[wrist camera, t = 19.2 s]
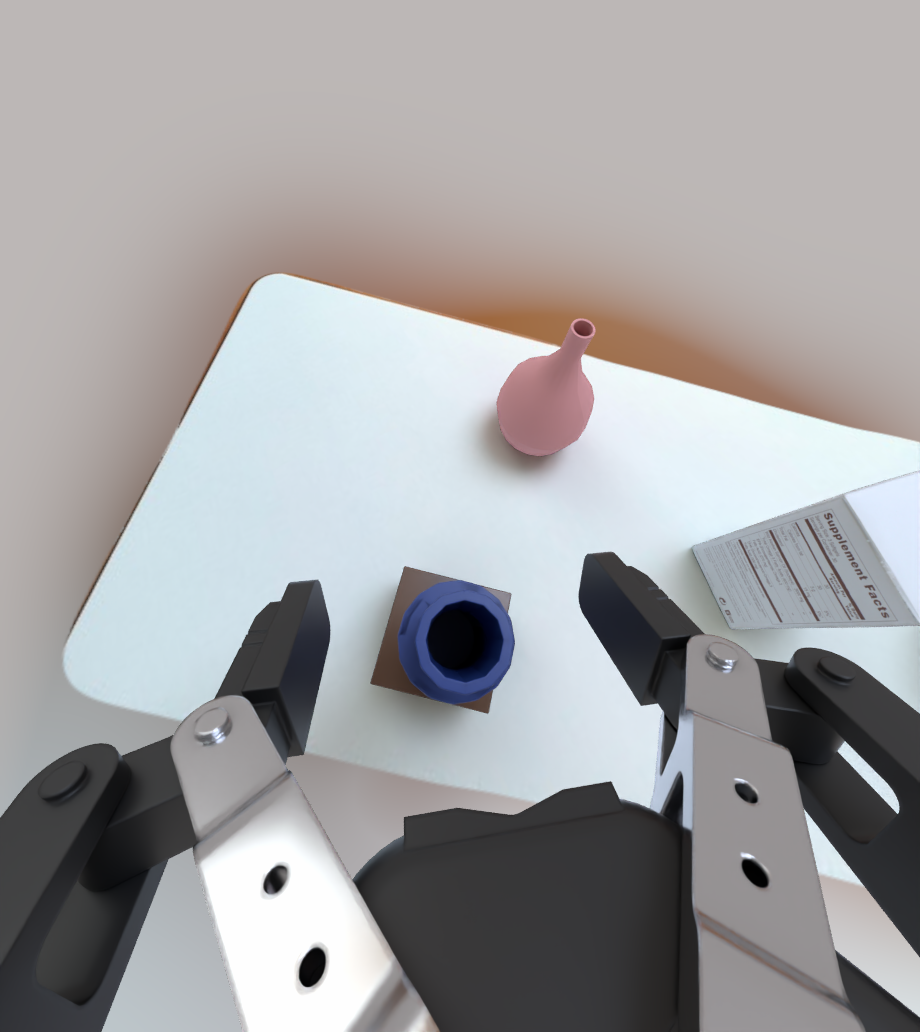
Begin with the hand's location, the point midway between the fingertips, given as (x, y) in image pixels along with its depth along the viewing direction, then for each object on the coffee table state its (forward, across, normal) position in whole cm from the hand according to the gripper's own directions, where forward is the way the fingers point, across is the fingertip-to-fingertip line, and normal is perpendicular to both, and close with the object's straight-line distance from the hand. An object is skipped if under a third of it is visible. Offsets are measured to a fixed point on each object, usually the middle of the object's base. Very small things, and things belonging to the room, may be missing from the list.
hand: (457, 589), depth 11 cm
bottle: (+8, 0, +10) cm, 12 cm away
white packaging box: (+13, -26, +12) cm, 32 cm away
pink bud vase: (+24, -10, +2) cm, 26 cm away
